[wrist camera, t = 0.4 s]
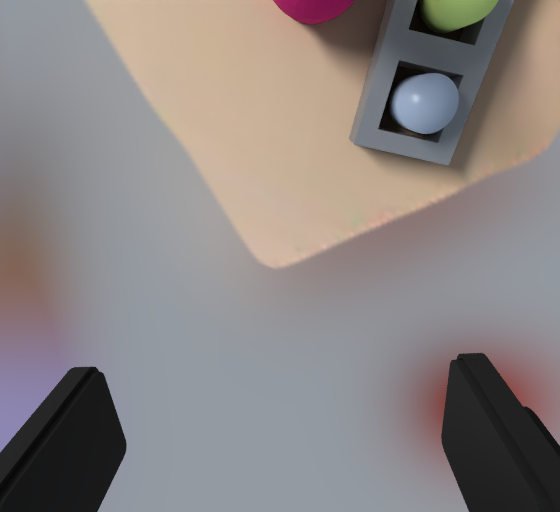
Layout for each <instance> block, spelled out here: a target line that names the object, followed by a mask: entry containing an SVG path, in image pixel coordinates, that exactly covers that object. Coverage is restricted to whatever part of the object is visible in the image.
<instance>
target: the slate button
mask: <svg viewBox="0 0 560 512" xmlns="http://www.w3.org/2000/svg"><path fill="white" fill-rule="evenodd" d="M458 103H459V94H458V90H457V87H456V85H455V84H454V82H453V81H452V80H451V79H450V78H448V77H447V76H445V75H442V74H438V73H430V74H422V75H414V76H410V77H407V78H405V79H403V80H402V81H401V82H399V83H398V84H397V86H396V87H395V88H394V90H393V91H392V93H391V96H390V99H389V112H390V115H391V117H392V119H393V120H394V122H395V123H397V124H398V125H399V126H401V127H403V128H406V129H409V130H412V131H414V132H417V133H421V134H430V133H434V132H437V131H439V130H441V129H442V128H444V127H445V126H446V125H447V124H448V123H449V122H450V121H451V120H452V118H453V117H454V115H455V113H456V111H457V108H458Z"/></svg>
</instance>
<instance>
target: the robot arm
mask: <svg viewBox="0 0 560 512" xmlns="http://www.w3.org/2000/svg"><path fill="white" fill-rule="evenodd" d="M441 438H442V445H443V448H444V452H445V454H446V456H447V459H448V461H449V463H450V466H451V469H452V471H453V473H454V476H455V478H456V481H457V483H458V486H459V488H460V491H461V493H462V495H463V498H464V500H465V503H466V505H467V508H468V510H469V512H560V446H559V444H558V443H557V442H556V441H555V439H554V438H553V437H552V435H551V434H550V432H549V431H548V430H547V428H546V427H545V426H544V424H543V423H542V422H541V421H540V419H539V418H538V416H537V415H536V414H535V413H534V412H533V411H532V410H531V409H530V408H528V407H523V406H522V405H521V403H520V402H519V401H518V399H517V398H516V396H515V395H514V394H513V392H512V391H511V390H510V388H509V387H508V385H507V384H506V383H505V381H504V380H503V379H502V377H501V376H500V374H499V373H498V372H497V370H496V369H495V367H494V366H493V365H492V363H491V362H490V361H489V359H488V358H487V356H486V355H485V354H483V353H469V354H459V355H458V356H457V360H452V361H451V363H450V369H449V377H448V385H447V394H446V402H445V410H444V419H443V427H442V437H441ZM125 452H126V439H125V436H124V433H123V430H122V427H121V424H120V422H119V418H118V415H117V412H116V409H115V406H114V403H113V400H112V397H111V394H110V391H109V388H108V385H107V382H106V379H105V376H104V374H103V373H102V372H99V371H98V369H97V368H96V367H74V368H72V369H70V370H69V371H68V372H67V374H66V375H65V376H64V377H63V378H62V380H61V381H60V382H59V383H58V384H57V386H56V387H55V388H54V389H53V390H52V391H51V393H50V394H49V395H48V396H47V398H46V399H45V400H44V401H43V402H42V403H41V405H40V406H39V407H38V408H37V409H36V411H35V412H34V413H33V414H32V415H31V417H30V418H29V419H28V420H27V421H26V423H25V424H24V425H23V426H22V427H21V429H20V430H19V431H18V432H17V433H16V435H15V436H14V437H13V438H12V439H11V441H10V442H9V443H8V444H7V445H6V446H5V448H4V449H3V450H2V452H0V512H97V511H98V509H99V507H100V505H101V503H102V501H103V499H104V497H105V495H106V493H107V490H108V489H109V487H110V484H111V482H112V480H113V478H114V476H115V474H116V472H117V470H118V468H119V466H120V464H121V461H122V460H123V458H124V455H125Z"/></svg>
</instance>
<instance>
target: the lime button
mask: <svg viewBox="0 0 560 512" xmlns="http://www.w3.org/2000/svg"><path fill="white" fill-rule="evenodd" d="M497 2H498V0H420V14H421V17H422V20H423V22H424V23H425V25H426V26H427V27H428V28H429V29H431V30H432V31H434V32H437V33H448V32H452V31H454V30H457V29H460V28H462V27H465V26H468V25H470V24H473V23H475V22H478V21H480V20H481V19H483V18H484V17H485V16H487V15H488V14H489V13H490V12H491V11H492V9H493V8H494V7H495V5H496V4H497Z"/></svg>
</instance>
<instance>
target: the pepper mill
mask: <svg viewBox="0 0 560 512" xmlns="http://www.w3.org/2000/svg"><path fill="white" fill-rule="evenodd" d="M273 1H274V2H275V3H276V5H277V6H278V7H279V8H280V9H281V10H282V11H283V12H284V13H285V14H287V15H288V16H290V17H291V18H293V19H295V20H297V21H299V22H302V23H305V24H318V23H322V22H326V21H329V20H331V19H334V18H336V17H337V16H339V15H340V14H342V13H343V12H344V11H346V10H347V9H348V8H349V7H350V6H351V5H352V3H353V2H354V1H355V0H273Z"/></svg>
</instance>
